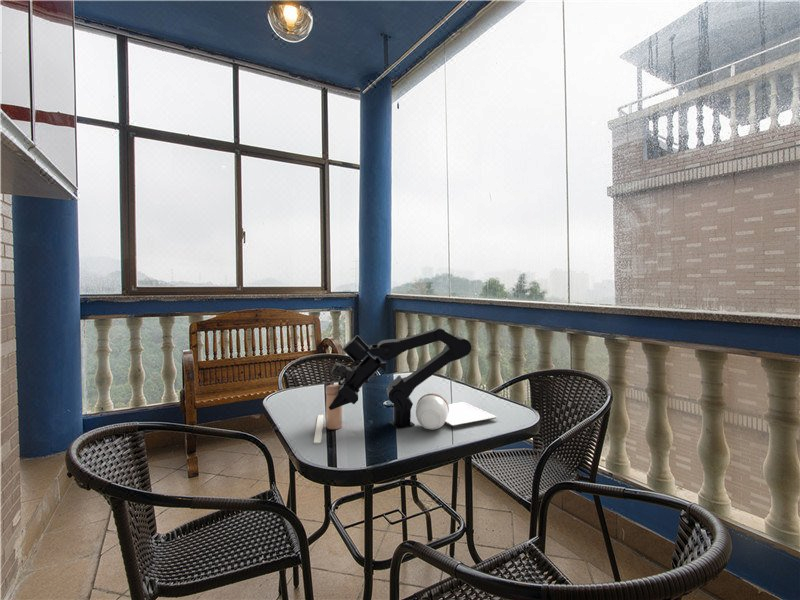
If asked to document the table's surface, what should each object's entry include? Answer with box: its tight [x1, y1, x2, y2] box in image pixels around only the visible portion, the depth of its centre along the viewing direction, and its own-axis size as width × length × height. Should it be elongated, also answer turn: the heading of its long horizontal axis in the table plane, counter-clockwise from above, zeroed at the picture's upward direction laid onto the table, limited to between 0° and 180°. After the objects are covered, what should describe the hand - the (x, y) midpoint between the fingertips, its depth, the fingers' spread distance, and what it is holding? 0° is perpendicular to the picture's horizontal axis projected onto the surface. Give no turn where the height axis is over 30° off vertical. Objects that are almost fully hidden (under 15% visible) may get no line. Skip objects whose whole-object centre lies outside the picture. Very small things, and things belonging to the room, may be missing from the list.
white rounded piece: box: [415, 393, 449, 431], centre depth 127 cm, size 11×11×9 cm
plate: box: [445, 401, 498, 427], centre depth 139 cm, size 19×19×2 cm
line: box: [313, 414, 325, 445], centre depth 126 cm, size 24×2×1 cm, turn 9°
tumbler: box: [325, 384, 343, 430], centre depth 127 cm, size 5×5×13 cm
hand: (329, 406), depth 127 cm, fingers closed on tumbler, 5 cm apart
